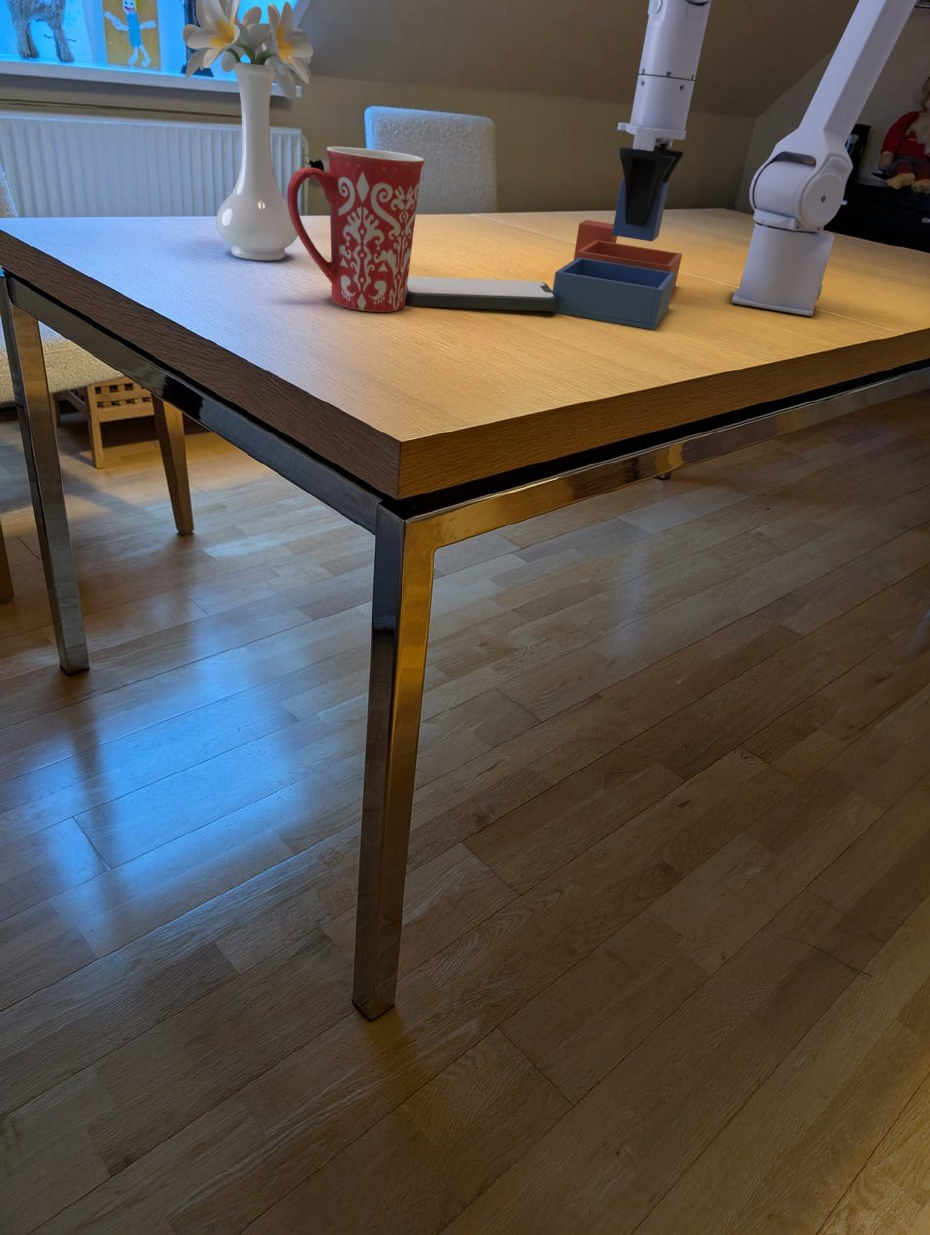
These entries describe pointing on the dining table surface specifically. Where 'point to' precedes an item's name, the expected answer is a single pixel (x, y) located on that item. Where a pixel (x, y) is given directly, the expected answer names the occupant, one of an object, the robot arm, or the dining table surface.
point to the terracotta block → (593, 233)
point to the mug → (365, 224)
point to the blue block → (653, 222)
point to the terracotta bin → (632, 256)
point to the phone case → (480, 294)
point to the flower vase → (253, 114)
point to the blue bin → (613, 292)
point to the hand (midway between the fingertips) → (638, 222)
